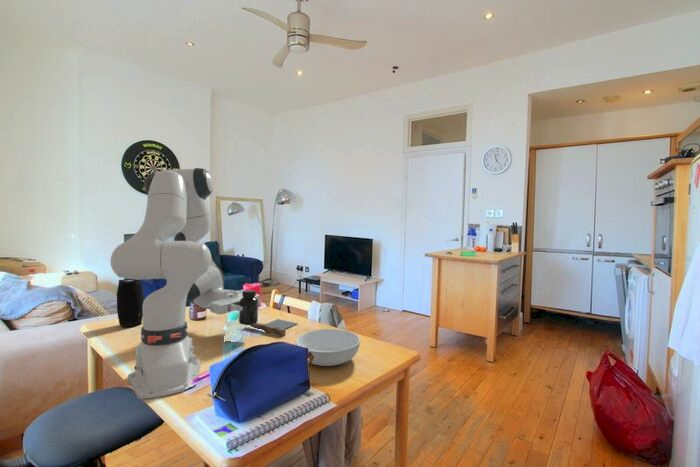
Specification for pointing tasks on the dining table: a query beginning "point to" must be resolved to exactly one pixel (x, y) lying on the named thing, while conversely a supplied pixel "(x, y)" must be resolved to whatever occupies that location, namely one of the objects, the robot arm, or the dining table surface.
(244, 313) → the supplement bottle
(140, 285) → the portable speaker
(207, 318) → the dining table surface
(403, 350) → the dining table surface
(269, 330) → the walnut rail
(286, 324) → the grey mat
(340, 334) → the serving bowl
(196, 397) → the dining table surface
